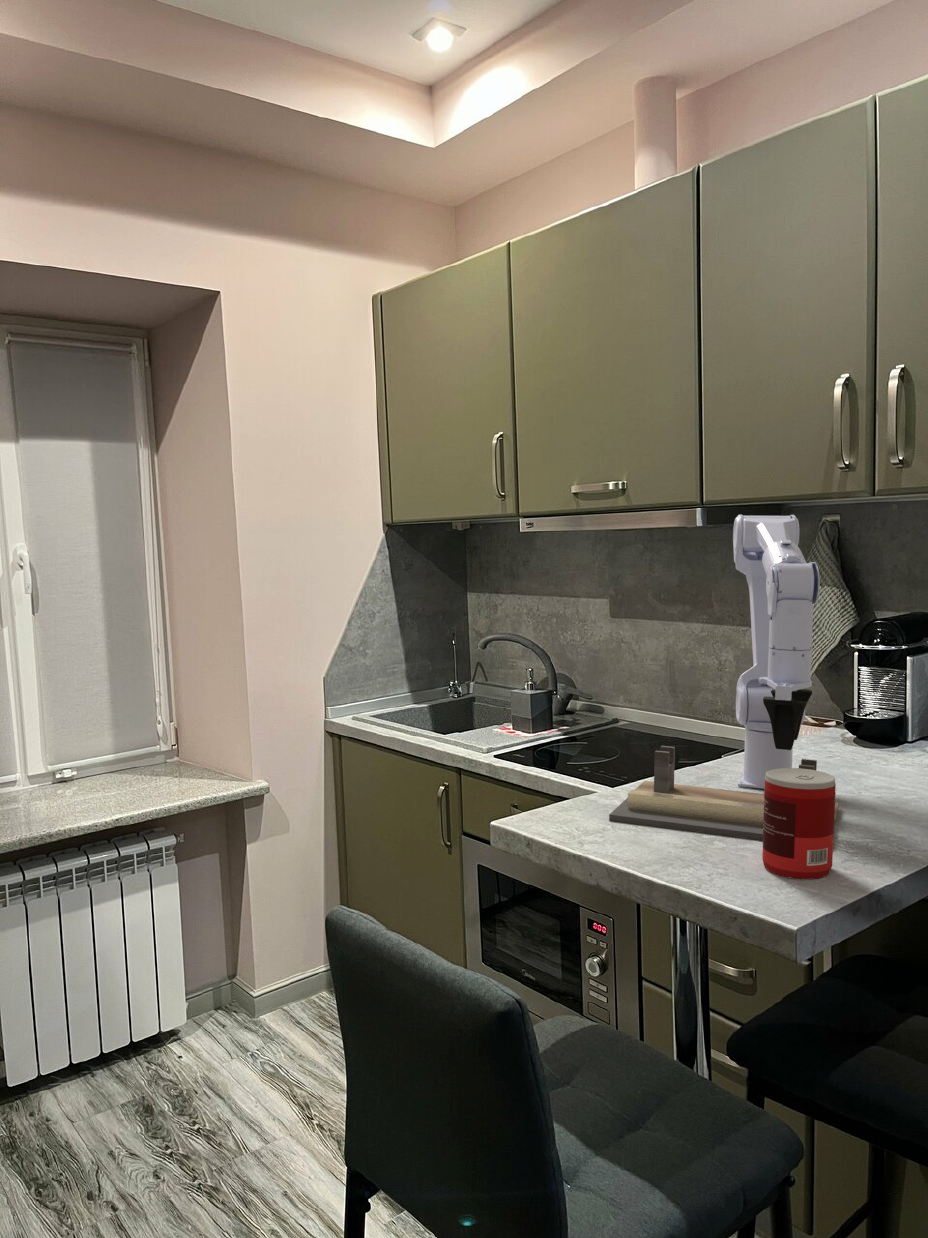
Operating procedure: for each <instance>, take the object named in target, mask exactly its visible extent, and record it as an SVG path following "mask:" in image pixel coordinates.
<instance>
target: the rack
mask: <svg viewBox="0 0 928 1238" xmlns="http://www.w3.org/2000/svg"><path fill="white" fill-rule="evenodd" d="M675 760H676V747H675V746H667V745H661V746H660V749H659V750H655V751H654V760H653V762H654V766H653V768H654V769H653V771H654V772H653V781H651V780H650V781H649V780H644V781H643V782H641V783H640V784H639V785H638V786H637V787H636V788H635V789H634V790H639V791H648V792H657V793H666V794H674V795H683V796H692V797H701V798H709V799H718V800H727V801H736V802H744V803H753V804H762V805H764V793H758V792H757V793H756V792H750V791H738V790H731V789H721V788H713V787H705V786H704V787H703V786H695V785H685V784H677V783H675V766H676V765H675V763H676V761H675ZM817 762H818V761H817V759H816V760H815V759H807V758H801V760H800V764H799V765H798V768H801V769H810V770H816V771H817V770H818V769H817V766H818V764H817ZM839 803H840V802H839V801H835V816H834V827H835V825H836V822H837V817H838V813H839V808H840V807H839Z"/></svg>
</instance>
